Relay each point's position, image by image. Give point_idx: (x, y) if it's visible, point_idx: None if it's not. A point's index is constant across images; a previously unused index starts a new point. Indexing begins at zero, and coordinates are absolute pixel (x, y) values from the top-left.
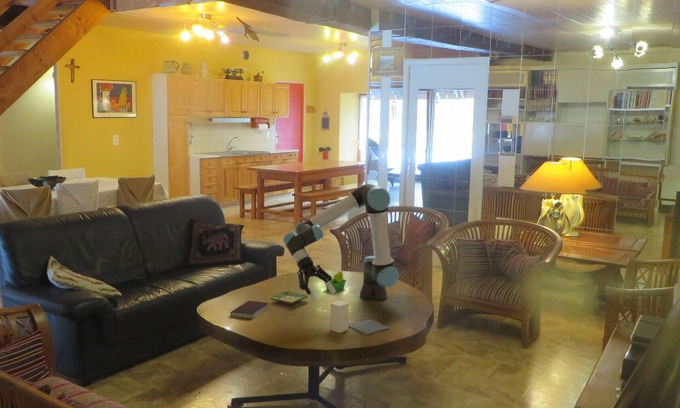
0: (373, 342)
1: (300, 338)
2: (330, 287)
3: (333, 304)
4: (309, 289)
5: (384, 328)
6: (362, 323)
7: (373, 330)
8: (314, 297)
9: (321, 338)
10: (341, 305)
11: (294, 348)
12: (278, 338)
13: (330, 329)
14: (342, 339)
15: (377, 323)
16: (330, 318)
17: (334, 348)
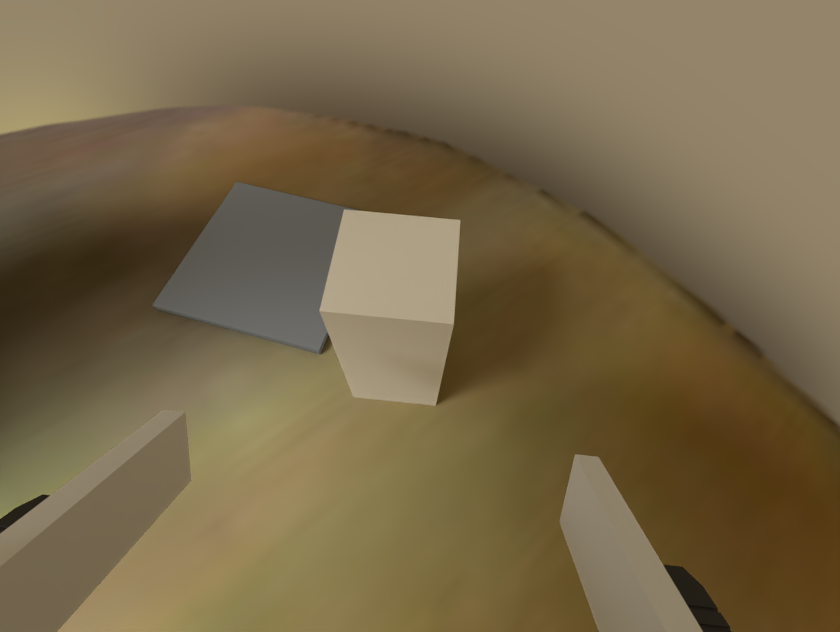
0: (432, 164)
1: (684, 462)
2: (109, 515)
3: (455, 289)
4: (686, 627)
5: (260, 190)
6: (246, 301)
7: (315, 212)
8: (602, 471)
9: (578, 360)
10: (432, 222)
11: (795, 387)
12: (826, 599)
13: (435, 404)
14: (502, 271)
15: (205, 243)
16: (440, 380)
17: (612, 241)
